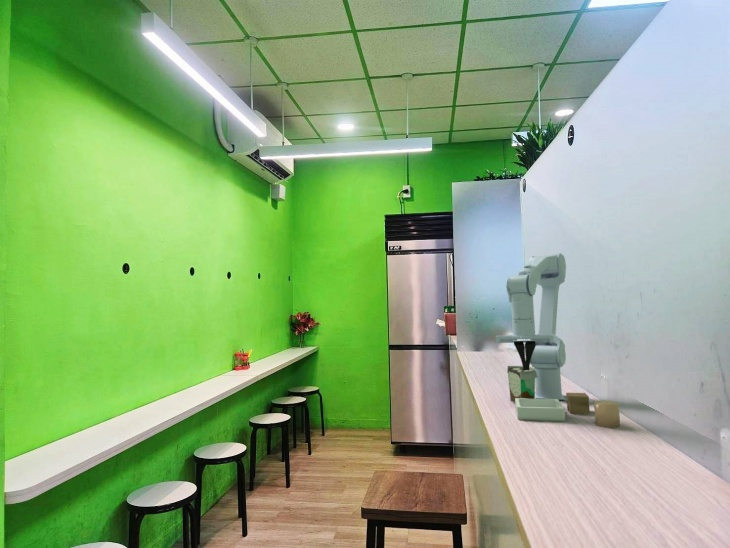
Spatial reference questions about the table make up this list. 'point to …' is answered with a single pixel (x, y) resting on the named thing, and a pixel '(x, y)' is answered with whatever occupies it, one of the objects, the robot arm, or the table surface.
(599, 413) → the beige rounded block
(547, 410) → the counting tray
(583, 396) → the walnut block
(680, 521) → the table surface
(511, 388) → the food container
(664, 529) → the table surface
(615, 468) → the table surface
